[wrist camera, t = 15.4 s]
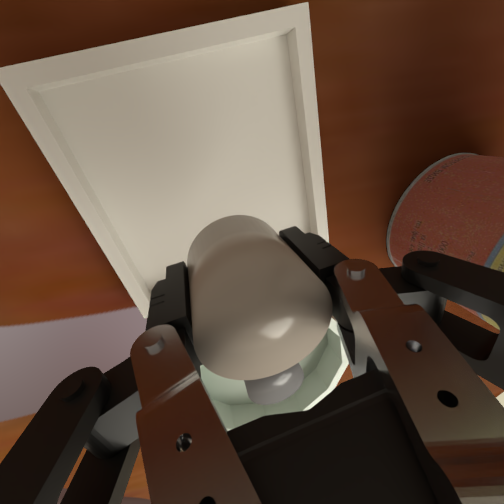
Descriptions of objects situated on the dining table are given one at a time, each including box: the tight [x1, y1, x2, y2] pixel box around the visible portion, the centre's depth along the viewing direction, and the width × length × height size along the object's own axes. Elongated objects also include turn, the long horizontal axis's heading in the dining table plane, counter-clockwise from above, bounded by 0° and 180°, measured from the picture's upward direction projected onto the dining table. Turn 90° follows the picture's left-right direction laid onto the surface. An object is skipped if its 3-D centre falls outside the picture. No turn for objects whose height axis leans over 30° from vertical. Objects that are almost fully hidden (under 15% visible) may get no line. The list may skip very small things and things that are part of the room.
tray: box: [0, 2, 329, 318], centre depth 15 cm, size 14×14×2 cm
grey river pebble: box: [244, 362, 304, 405], centre depth 20 cm, size 4×4×4 cm
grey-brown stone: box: [187, 215, 333, 380], centre depth 9 cm, size 4×4×4 cm
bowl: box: [200, 316, 349, 431], centre depth 22 cm, size 15×15×3 cm
